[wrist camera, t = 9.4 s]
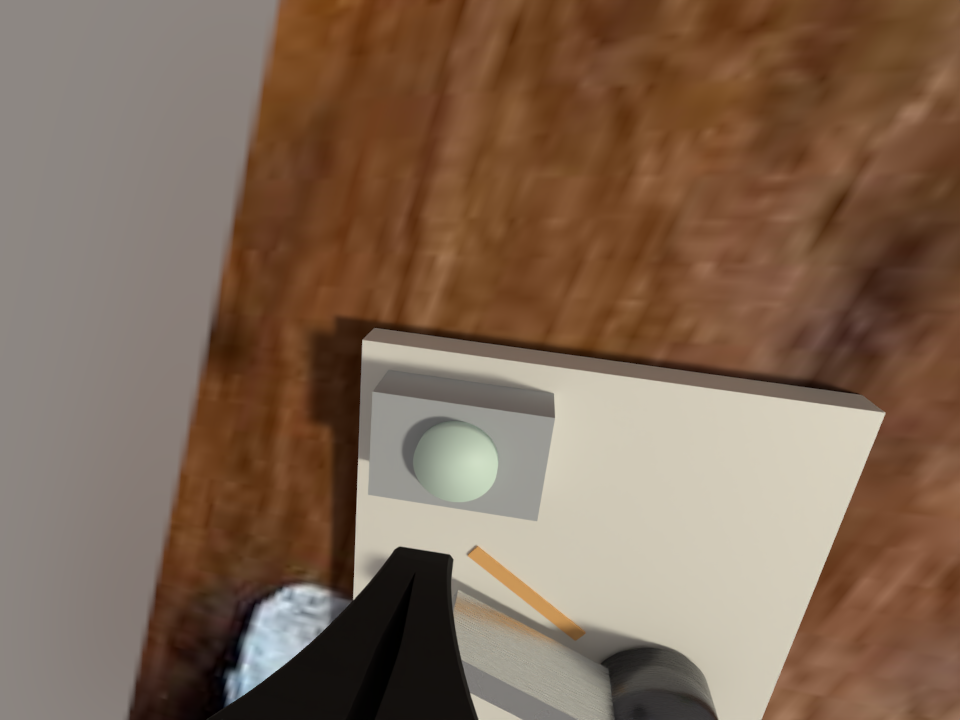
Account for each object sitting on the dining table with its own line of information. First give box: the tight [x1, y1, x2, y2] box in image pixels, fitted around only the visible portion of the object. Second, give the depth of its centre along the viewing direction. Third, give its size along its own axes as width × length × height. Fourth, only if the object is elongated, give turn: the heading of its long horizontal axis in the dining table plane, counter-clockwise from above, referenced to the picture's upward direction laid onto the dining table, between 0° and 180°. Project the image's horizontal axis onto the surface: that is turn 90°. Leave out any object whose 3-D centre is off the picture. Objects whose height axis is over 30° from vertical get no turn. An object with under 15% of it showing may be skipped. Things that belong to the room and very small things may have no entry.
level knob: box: [452, 590, 719, 720], centre depth 22 cm, size 12×5×4 cm, turn 61°
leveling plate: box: [353, 328, 885, 720], centre depth 22 cm, size 18×18×4 cm
